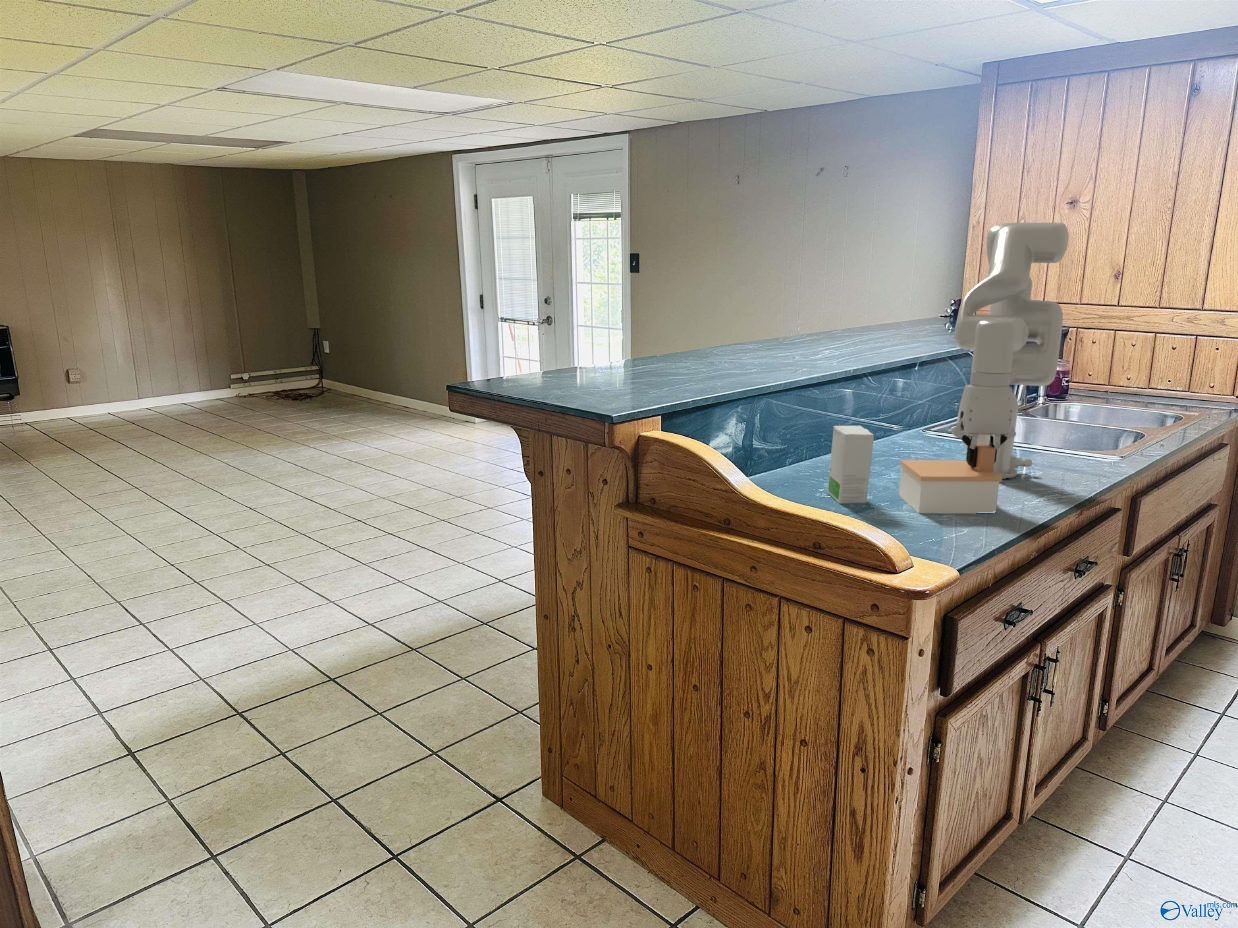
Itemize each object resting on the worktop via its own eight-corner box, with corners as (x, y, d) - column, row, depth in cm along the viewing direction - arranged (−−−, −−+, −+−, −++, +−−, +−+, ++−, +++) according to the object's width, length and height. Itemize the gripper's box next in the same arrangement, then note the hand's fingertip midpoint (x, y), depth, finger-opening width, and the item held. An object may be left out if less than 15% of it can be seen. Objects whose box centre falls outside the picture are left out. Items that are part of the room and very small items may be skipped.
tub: (970, 495, 190) (974, 465, 189) (995, 513, 178) (999, 481, 176) (898, 495, 190) (901, 464, 189) (918, 513, 178) (921, 480, 176)
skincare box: (827, 493, 192) (831, 425, 188) (855, 492, 192) (860, 424, 188) (839, 504, 184) (844, 433, 180) (869, 503, 184) (875, 433, 180)
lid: (974, 469, 189) (978, 438, 187) (1001, 486, 176) (1005, 453, 174) (899, 468, 189) (902, 438, 187) (920, 485, 176) (923, 452, 174)
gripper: (1021, 377, 181) (1010, 461, 186) (943, 377, 181) (935, 461, 186) (1037, 383, 174) (1026, 470, 178) (957, 382, 174) (948, 470, 178)
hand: (980, 465), depth 182 cm, fingers closed on lid, 3 cm apart
